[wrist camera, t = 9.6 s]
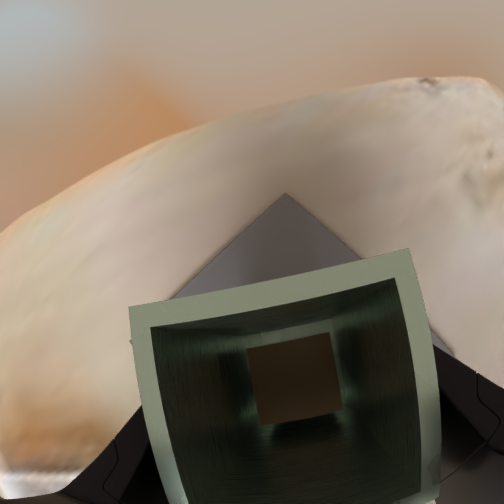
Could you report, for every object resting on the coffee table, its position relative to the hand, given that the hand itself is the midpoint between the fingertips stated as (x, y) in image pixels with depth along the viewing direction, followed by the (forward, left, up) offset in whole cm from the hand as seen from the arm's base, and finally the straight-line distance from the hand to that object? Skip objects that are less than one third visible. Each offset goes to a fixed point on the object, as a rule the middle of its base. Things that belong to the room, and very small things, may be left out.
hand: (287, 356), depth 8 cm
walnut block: (-1, +1, -7) cm, 7 cm away
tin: (-1, +1, -8) cm, 8 cm away
